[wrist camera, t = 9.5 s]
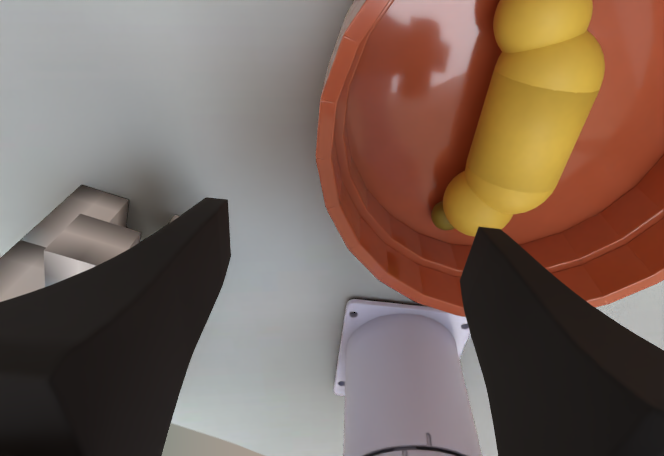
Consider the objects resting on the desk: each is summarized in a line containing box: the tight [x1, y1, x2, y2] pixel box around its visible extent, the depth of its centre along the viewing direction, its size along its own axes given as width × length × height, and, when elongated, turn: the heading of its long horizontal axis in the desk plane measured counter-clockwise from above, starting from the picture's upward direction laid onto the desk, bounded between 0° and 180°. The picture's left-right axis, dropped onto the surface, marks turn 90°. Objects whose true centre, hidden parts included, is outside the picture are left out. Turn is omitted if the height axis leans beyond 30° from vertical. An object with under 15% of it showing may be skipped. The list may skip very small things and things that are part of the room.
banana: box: [431, 0, 605, 237], centre depth 17 cm, size 12×4×4 cm, turn 175°
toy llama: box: [0, 185, 179, 302], centre depth 19 cm, size 8×18×20 cm, turn 160°
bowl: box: [316, 0, 664, 317], centre depth 17 cm, size 17×17×5 cm
